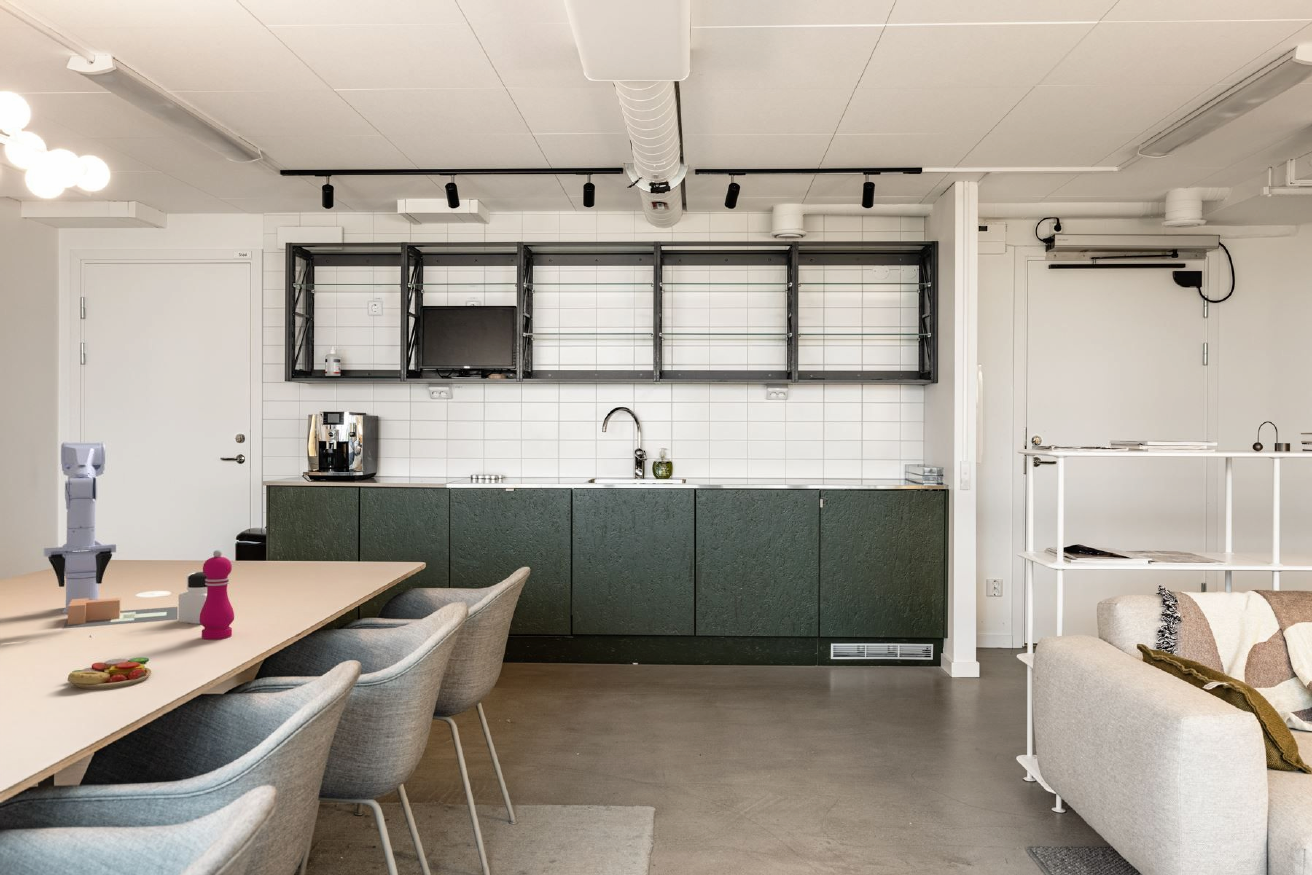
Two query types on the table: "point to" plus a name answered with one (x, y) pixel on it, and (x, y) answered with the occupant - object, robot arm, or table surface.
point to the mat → (133, 617)
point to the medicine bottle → (193, 598)
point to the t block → (92, 610)
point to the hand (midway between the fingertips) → (80, 584)
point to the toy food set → (111, 674)
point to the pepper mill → (217, 599)
